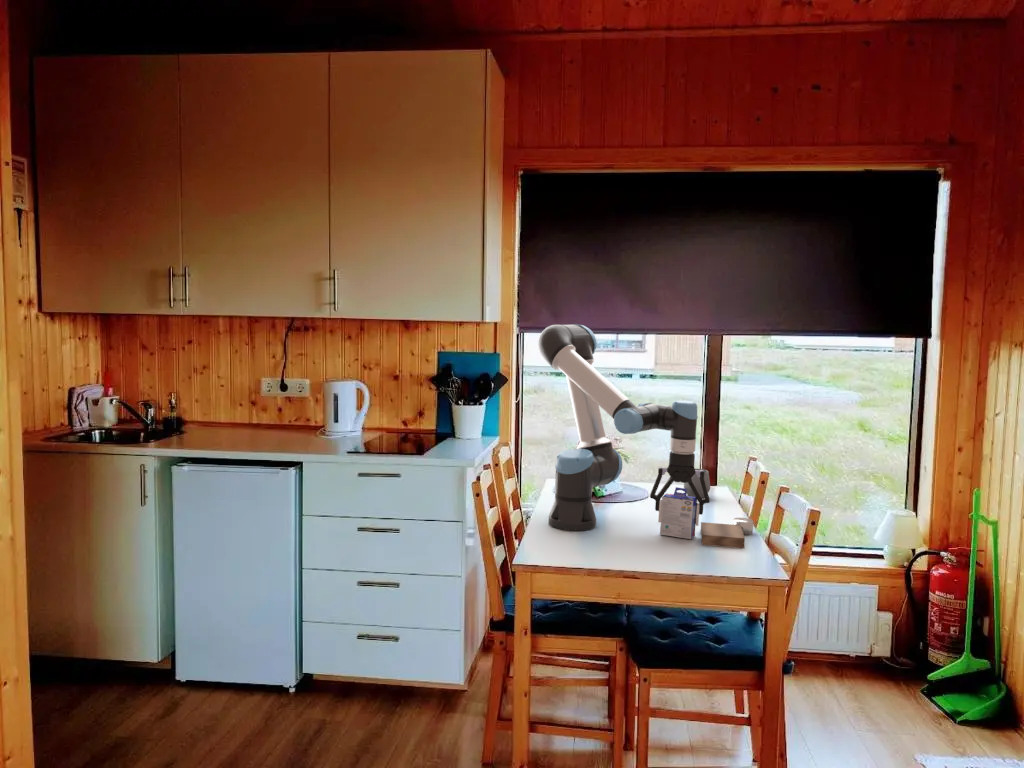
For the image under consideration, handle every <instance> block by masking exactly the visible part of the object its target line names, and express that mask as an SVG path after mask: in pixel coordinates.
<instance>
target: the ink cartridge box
mask: <svg viewBox="0 0 1024 768" xmlns="http://www.w3.org/2000/svg"><path fill="white" fill-rule="evenodd" d="M678 491H683V492H678ZM661 500H662V511H661V523H660V529H659V530H660V532H659V535H661V536H668V537H675V538H680V539H686V540H691V539H693V538H694V537H695V536H696V507H697V503H698V500H697V498H696V497H692V496H688V495H687V489H684V487H678V486H676V487H675V490H674V492H673V493H664V495H663V496H662V498H661Z"/></svg>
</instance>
